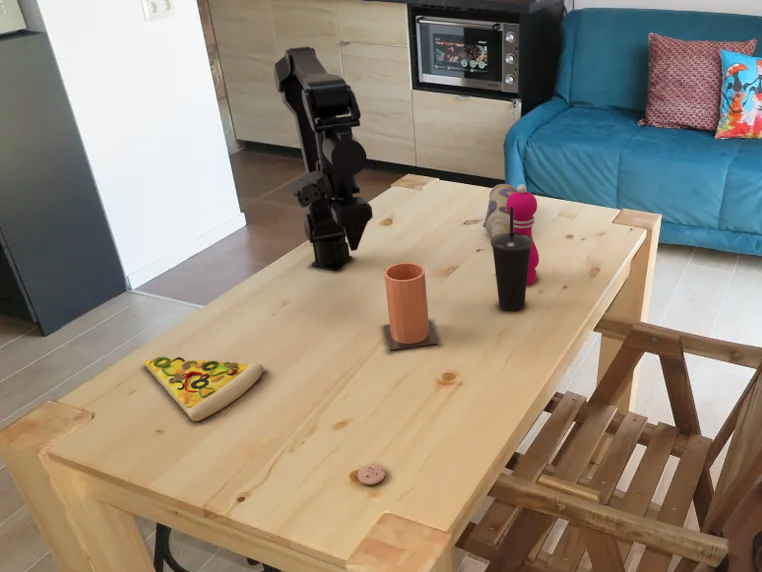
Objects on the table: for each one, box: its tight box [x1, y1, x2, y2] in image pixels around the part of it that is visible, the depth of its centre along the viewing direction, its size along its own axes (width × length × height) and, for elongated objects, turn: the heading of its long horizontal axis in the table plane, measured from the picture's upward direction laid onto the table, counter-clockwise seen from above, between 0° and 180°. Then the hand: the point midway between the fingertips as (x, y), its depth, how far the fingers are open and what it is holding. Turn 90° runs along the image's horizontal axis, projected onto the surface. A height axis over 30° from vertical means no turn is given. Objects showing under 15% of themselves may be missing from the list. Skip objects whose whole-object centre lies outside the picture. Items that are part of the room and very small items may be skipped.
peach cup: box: [383, 262, 429, 344], centre depth 132 cm, size 7×7×12 cm
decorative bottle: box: [482, 183, 517, 237], centre depth 170 cm, size 26×8×7 cm, turn 176°
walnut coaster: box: [383, 319, 438, 352], centre depth 136 cm, size 8×8×1 cm
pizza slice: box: [143, 356, 264, 422], centre depth 123 cm, size 16×21×3 cm
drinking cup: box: [490, 207, 534, 313], centre depth 139 cm, size 8×8×20 cm
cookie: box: [357, 463, 386, 486], centre depth 105 cm, size 4×4×1 cm
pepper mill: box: [506, 183, 540, 286], centre depth 148 cm, size 7×7×20 cm
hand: (347, 240), depth 138 cm, fingers open, 9 cm apart
